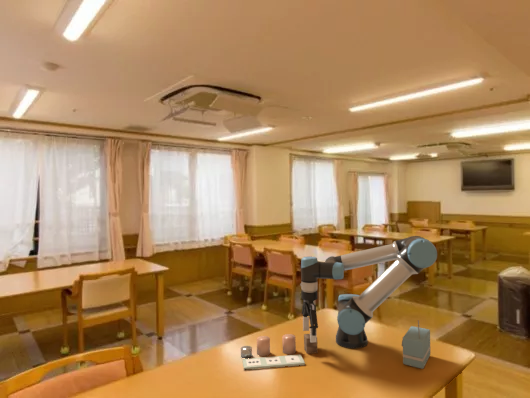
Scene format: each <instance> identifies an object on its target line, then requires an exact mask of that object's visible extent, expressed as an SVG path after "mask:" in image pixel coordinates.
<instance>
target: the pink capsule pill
mask: <svg viewBox="0 0 530 398" xmlns="http://www.w3.org/2000/svg"><path fill="white" fill-rule="evenodd" d="M256 354H257V356H258V355H259V356H258V357H261V356H265V357H268V356H270V355H271V337H270V336H267V335H259V336H258V337H256ZM269 354H270V355H269ZM267 355H268V356H267Z"/></svg>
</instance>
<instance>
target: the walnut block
mask: <svg viewBox="0 0 530 398" xmlns="http://www.w3.org/2000/svg"><path fill="white" fill-rule="evenodd" d="M303 345H304V346H303V349H304V351H305V353H306V354H309V355H310V354H318V341H317V342H312V343H311V342H310V333H305V334H303Z"/></svg>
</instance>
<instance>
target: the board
mask: <svg viewBox="0 0 530 398" xmlns="http://www.w3.org/2000/svg"><path fill="white" fill-rule="evenodd" d="M305 363H306V362H305V360H304V358H303V357H302V354H291V355H288V354H286V355H277V356H276V355H275V356H265V357H252V358H249V359H242V367H244V368H243V370H244V369H252V370H259V369H258V368H264V369H271V368H270V367H276V368H284V367H285V366H288V367H296V366H297V367H299V365H300V366H306V364H305ZM285 368H286V367H285Z"/></svg>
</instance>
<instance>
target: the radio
mask: <svg viewBox="0 0 530 398" xmlns="http://www.w3.org/2000/svg"><path fill="white" fill-rule="evenodd" d="M401 340H402V341H401V347H402V363H403V365H406V366H409V367H413V368H417V369H424V368H425V366H426V364H427V362H428V361H429V358H430V355H431V329H428V328H425V327H423V328H422V327H420V320H417V326H415V325H414V326H413V325H411V326H410V327H409V329H408V330H407V332H406V333H405V334H404V335H403V337H402V339H401Z"/></svg>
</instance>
